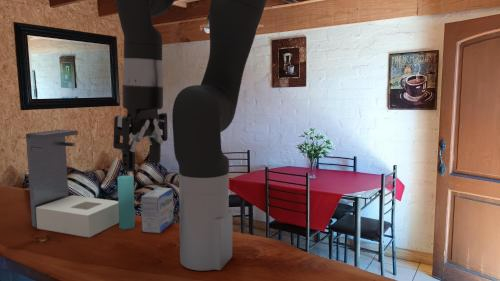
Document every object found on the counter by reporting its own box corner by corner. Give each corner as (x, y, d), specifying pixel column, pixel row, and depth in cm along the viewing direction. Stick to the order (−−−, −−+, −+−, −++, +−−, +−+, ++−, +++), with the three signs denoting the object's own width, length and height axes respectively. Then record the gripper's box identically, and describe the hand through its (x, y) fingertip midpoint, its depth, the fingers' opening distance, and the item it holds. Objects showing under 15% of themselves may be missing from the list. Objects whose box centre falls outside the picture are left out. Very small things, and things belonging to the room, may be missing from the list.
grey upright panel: (81, 216, 96) (77, 130, 93) (49, 229, 87) (43, 134, 84) (65, 213, 98) (61, 129, 95) (32, 226, 88) (25, 133, 85)
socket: (121, 221, 93) (120, 201, 92) (89, 237, 82) (88, 215, 82) (73, 213, 98) (72, 195, 97) (37, 228, 87) (35, 207, 87)
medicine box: (159, 234, 85) (159, 196, 84) (141, 232, 86) (140, 195, 85) (173, 222, 93) (173, 188, 92) (156, 220, 94) (156, 186, 92)
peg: (137, 225, 90) (136, 176, 89) (128, 230, 87) (126, 179, 85) (125, 223, 91) (124, 175, 90) (116, 228, 88) (114, 178, 87)
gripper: (137, 84, 64) (136, 176, 66) (179, 85, 77) (177, 162, 80) (101, 82, 66) (101, 171, 69) (148, 83, 80) (147, 158, 82)
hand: (142, 166), depth 74 cm, fingers open, 8 cm apart
